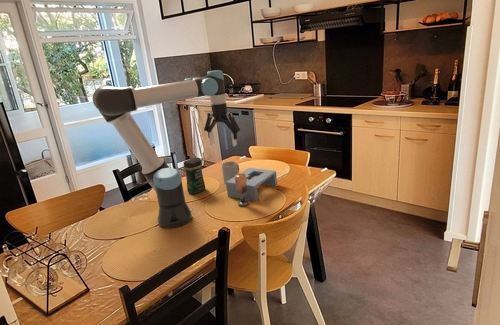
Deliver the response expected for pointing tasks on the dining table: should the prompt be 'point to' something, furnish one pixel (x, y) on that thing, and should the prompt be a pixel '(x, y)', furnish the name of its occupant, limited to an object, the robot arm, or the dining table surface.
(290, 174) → the dining table surface
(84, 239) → the dining table surface
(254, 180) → the platform
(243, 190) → the peg
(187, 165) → the coffee jar
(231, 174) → the mug
